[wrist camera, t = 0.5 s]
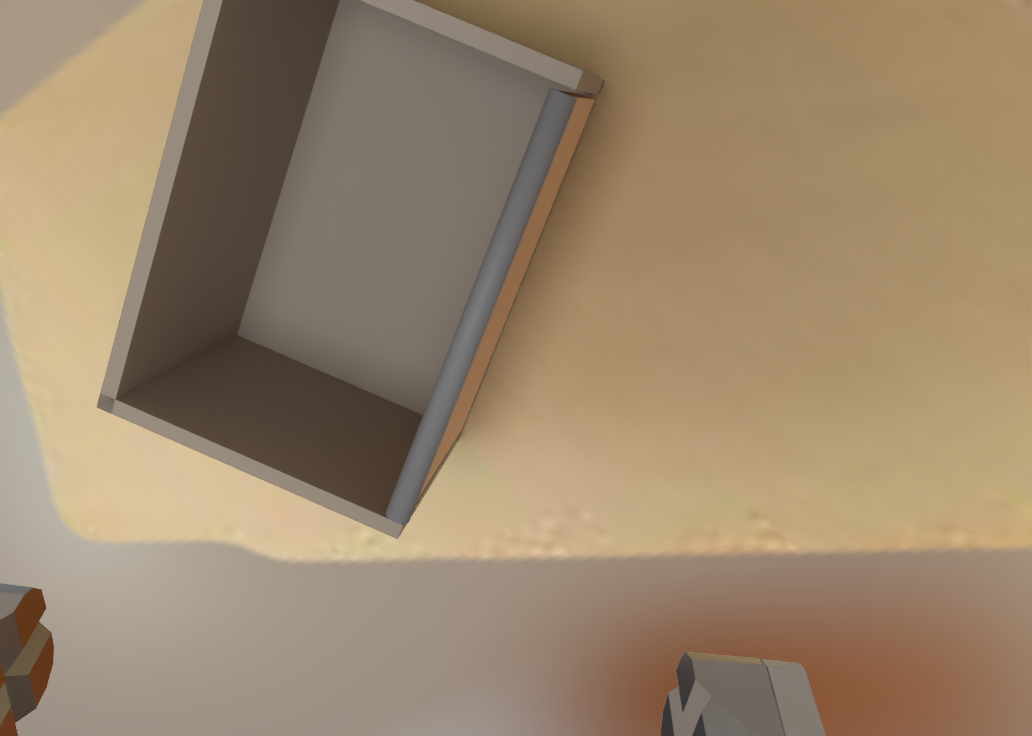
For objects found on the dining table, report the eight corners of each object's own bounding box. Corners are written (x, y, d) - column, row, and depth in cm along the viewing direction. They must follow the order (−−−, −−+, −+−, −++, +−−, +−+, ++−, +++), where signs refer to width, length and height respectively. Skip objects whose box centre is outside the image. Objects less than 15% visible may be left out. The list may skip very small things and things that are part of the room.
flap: (577, 92, 50) (548, 87, 37) (598, 101, 50) (576, 98, 37) (446, 423, 56) (382, 516, 44) (464, 430, 56) (405, 527, 44)
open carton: (337, -30, 51) (224, -79, 38) (604, 80, 51) (583, 70, 37) (226, 338, 58) (96, 407, 45) (458, 439, 58) (397, 539, 44)
